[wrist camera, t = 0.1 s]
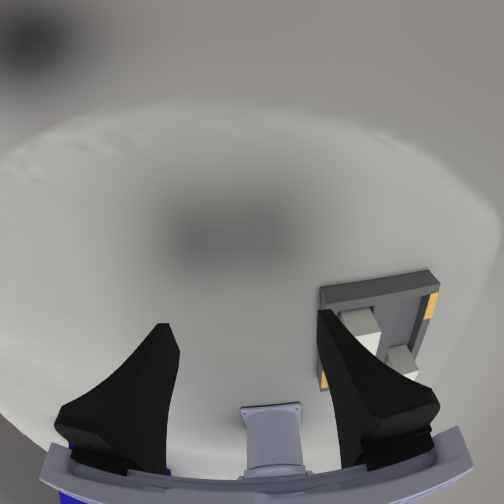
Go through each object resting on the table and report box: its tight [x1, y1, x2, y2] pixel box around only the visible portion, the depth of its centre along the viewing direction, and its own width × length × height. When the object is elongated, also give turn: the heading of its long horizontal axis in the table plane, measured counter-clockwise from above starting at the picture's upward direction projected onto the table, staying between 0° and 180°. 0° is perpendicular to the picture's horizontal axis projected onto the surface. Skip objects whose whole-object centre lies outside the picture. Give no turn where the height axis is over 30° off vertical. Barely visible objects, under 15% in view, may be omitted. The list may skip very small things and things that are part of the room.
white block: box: [338, 307, 381, 356], centre depth 22 cm, size 3×3×4 cm
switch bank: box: [317, 270, 441, 392], centre depth 26 cm, size 13×11×2 cm
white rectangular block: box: [384, 344, 419, 381], centre depth 25 cm, size 3×3×4 cm
